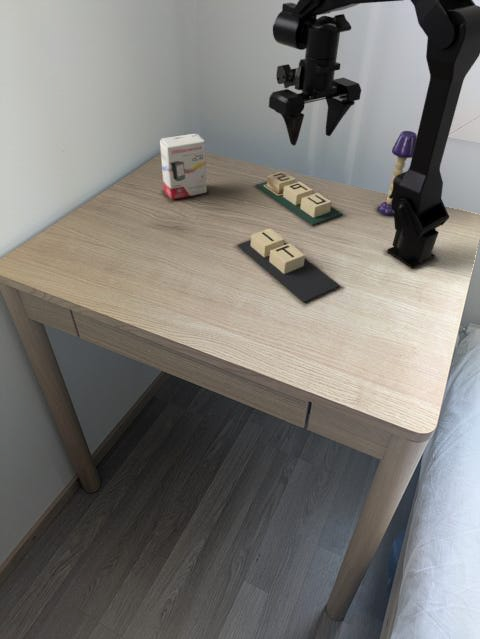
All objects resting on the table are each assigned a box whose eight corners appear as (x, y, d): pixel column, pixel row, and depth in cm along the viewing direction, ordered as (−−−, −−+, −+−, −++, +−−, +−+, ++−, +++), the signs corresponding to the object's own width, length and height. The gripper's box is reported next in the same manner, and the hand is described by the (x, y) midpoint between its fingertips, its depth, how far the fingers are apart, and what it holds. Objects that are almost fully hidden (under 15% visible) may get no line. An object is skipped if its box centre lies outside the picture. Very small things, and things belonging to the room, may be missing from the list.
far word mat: (341, 215, 104) (343, 202, 101) (312, 225, 100) (314, 212, 98) (283, 177, 116) (284, 165, 114) (255, 186, 112) (256, 174, 110)
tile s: (294, 189, 111) (295, 178, 109) (278, 194, 109) (279, 183, 107) (282, 181, 114) (283, 170, 112) (266, 186, 112) (267, 175, 110)
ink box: (170, 201, 106) (166, 148, 98) (163, 191, 110) (158, 138, 102) (208, 193, 109) (206, 141, 101) (199, 183, 113) (197, 132, 105)
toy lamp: (379, 203, 108) (397, 127, 96) (401, 207, 106) (422, 130, 95) (376, 213, 104) (394, 136, 93) (398, 218, 103) (420, 139, 92)
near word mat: (339, 287, 85) (342, 273, 83) (304, 303, 82) (306, 289, 80) (271, 234, 98) (272, 220, 96) (237, 246, 94) (237, 232, 92)
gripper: (330, 39, 98) (319, 118, 109) (253, 51, 90) (250, 135, 101) (370, 52, 92) (354, 135, 102) (291, 67, 84) (283, 155, 94)
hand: (310, 140), depth 100 cm, fingers open, 9 cm apart
